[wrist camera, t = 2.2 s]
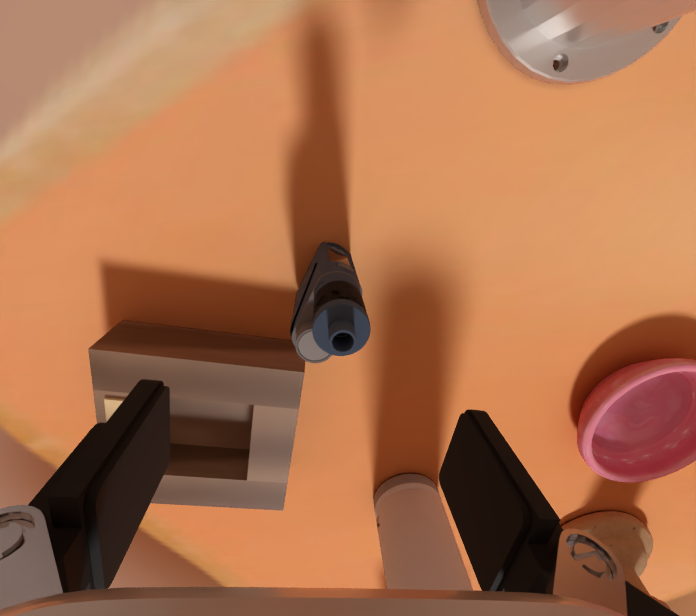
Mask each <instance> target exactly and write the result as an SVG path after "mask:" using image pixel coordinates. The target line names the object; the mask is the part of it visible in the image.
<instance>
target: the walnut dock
mask: <svg viewBox="0 0 696 616" xmlns="http://www.w3.org/2000/svg"><path fill="white" fill-rule="evenodd" d="M89 358H90V366H91V375H92V383H93V392H94V400H95V409H96V417H97V424H98V423H100V422H103V423H106V422H107V421H108V419H109V418H110V417H111V416H112V414H113V413H114V412H115V411H116V409H117V408H118V407H119V406H120V404H121V403H122V402H123V401H124V399H125V398H126V397H127V396H128V394H129V393H130V392H131V391H132V389H133V388H134V387H135V386H136V384H137V383H138V382H139V381H140V380H141V379H148V380H159V381H163V383H164V386H168V387H169V388H170V460H169V464H168V467H167V469H166V471H165V473H164V475H163V477H162V479H161V482H160V484H159V486H158V488H157V490H156V492H155V494H154V496H153V498H152V500H151V502H150V503H157V504H175V505H193V506H211V507H229V508H247V509H265V510H283V508H284V501H285V495H286V488H287V482H288V475H289V469H290V462H291V456H292V449H293V443H294V436H295V430H296V423H297V417H298V410H299V404H300V397H301V391H302V384H303V378H304V370H305V360H303V359H302V358H301V357H300V356H299V355H298V354H297V351H296V348H295V346H294V344H293V342H292V341H290V340H281V339H273V338H265V337H256V336H248V335H240V334H232V333H223V332H215V331H207V330H198V329H190V328H182V327H173V326H165V325H157V324H149V323H140V322H132V321H124V320H122V321H121V322H120V323H119V324H117V325H116V326H115V327H114V328H113V329H111V330H110V331H109V332H108V333H107V334H105V335H104V336H103V337H102V338H101V339H100V340H98V341H97V342H96V343H95V344H94V345H92V346H91V347H90V348H89Z"/></svg>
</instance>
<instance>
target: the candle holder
mask: <svg viewBox="0 0 696 616" xmlns="http://www.w3.org/2000/svg"><path fill="white" fill-rule="evenodd" d="M561 527H562V529H563V530H566V529H578V530H582V531H584V532H586V533H588V534H590V535H592V536H594V537H595V538H597V539H598V540H600V541H601V542H602V543H603V544H604V545H605V546H607V547H608V548H609V549H610V550H611V551H612V553H613V554H614V555H615V556H616V557H617V559H618V560H619V562H620V564H621V566H622V568H623V571H624V575H625V581H627V582H629V583H630V584H632V585H633V586H635V587H636V588H638V589H639V590H641V591H642V592H644V593H645V594H647V595H648V596H650V597H651V598H653V599H654V600H656V601H657V602H659V603H660V604H662V605H663V606H665V607H666V608H668V609H669V610H671V609H670V608H669V606H668V605H667V604H666V603H664V602H663V601H661V600H658V599H657V598H655V597H653V596H651V595H650V594H649V593H648V591H647V590H646V588H645V586H644V585H643V583H642V582H641V580H640V578H639V576H640V575H641V574H642V573H643V571H644V570H645V568H646V565H647V560H648V558H649V557H650V554H651V552H652V548H653V539H652V536H651V533H650V531H649V530H648V529H647V527H646V526H645V525H644V524H643V523H642V522H641V521H640V520H639V519H637V518H636V517H634V516H632V515H630V514H627V513H624V512H617V511H604V512H596V513H592V514H587V515H584V516H581V517H579V518H576V519H574V520H571V521H570V522H568V523H566V524H564V525H563V526H561Z"/></svg>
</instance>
